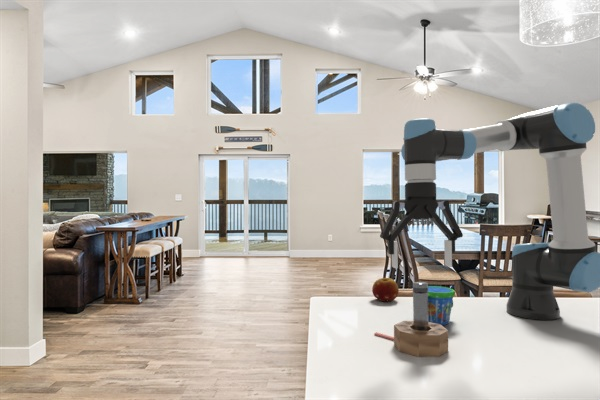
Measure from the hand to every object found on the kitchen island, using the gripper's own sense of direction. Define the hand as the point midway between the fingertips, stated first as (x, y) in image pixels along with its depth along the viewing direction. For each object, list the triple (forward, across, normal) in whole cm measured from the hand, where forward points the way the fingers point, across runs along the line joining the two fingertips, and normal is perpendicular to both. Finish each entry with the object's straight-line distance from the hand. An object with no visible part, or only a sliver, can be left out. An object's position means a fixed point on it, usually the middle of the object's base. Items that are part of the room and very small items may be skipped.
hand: (421, 266), depth 103 cm
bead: (+20, +1, 0) cm, 20 cm away
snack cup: (+21, -11, -21) cm, 31 cm away
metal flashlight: (+20, 0, 0) cm, 20 cm away
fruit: (+21, -3, -50) cm, 54 cm away
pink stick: (+20, +6, -6) cm, 22 cm away
